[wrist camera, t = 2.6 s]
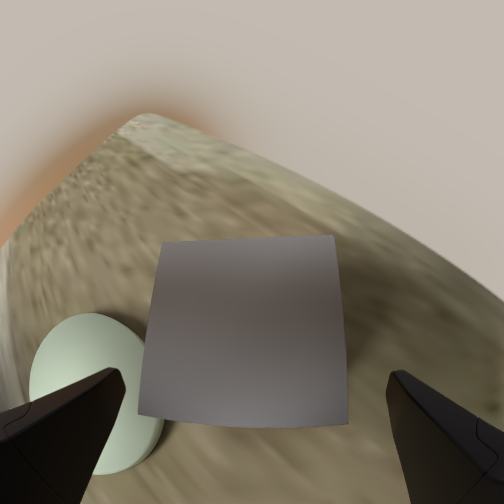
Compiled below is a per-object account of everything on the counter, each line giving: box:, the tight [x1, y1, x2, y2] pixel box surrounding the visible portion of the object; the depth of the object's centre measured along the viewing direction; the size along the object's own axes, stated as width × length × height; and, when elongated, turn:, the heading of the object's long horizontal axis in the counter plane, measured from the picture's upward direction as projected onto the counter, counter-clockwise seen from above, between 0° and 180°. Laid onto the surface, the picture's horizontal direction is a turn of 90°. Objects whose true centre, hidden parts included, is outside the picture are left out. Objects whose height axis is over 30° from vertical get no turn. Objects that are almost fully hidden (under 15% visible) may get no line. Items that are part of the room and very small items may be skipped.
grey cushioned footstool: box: [137, 235, 348, 428], centre depth 12 cm, size 5×5×11 cm
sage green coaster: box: [29, 313, 165, 475], centre depth 16 cm, size 12×12×2 cm
